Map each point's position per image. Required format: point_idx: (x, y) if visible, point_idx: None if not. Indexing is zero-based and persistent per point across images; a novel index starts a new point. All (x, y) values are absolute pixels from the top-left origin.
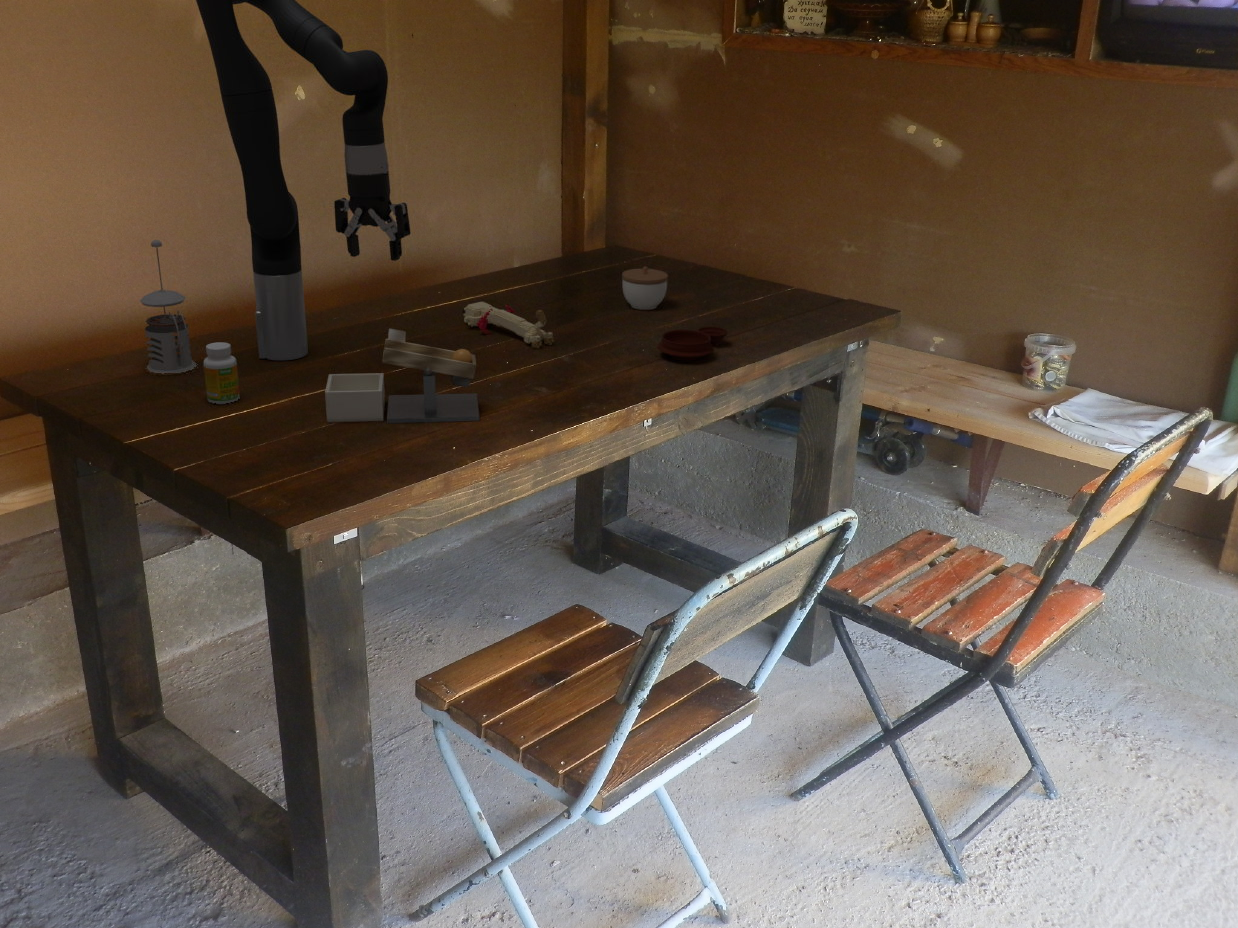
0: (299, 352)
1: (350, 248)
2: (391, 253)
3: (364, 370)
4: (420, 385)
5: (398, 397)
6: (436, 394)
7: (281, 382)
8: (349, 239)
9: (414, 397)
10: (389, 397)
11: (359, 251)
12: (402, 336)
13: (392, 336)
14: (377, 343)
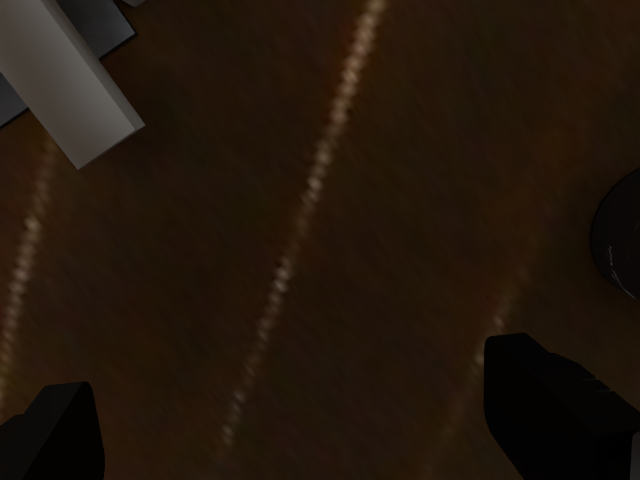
0: (605, 223)
1: (550, 364)
2: (45, 415)
3: (368, 227)
4: (139, 197)
5: (93, 30)
6: (8, 118)
7: (532, 7)
8: (612, 416)
9: None
10: (119, 15)
11: (496, 438)
12: (28, 86)
13: (41, 32)
14: (466, 431)
